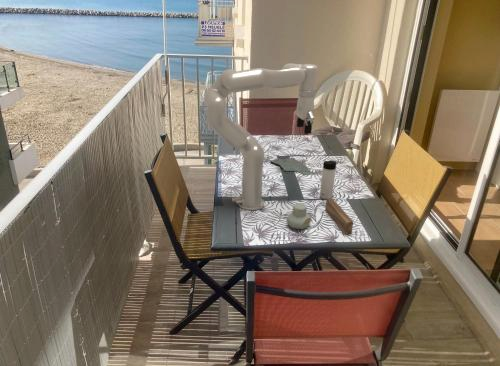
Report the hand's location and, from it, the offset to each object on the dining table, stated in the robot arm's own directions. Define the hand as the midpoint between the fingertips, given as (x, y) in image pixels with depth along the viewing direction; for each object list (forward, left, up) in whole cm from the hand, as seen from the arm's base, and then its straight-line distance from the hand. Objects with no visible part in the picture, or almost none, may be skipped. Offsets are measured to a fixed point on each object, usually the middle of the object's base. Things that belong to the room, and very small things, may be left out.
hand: (303, 130), depth 191 cm
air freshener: (-8, -23, -37) cm, 44 cm away
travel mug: (+15, 0, -37) cm, 40 cm away
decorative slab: (+11, +42, -37) cm, 57 cm away
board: (+11, -23, -37) cm, 45 cm away
